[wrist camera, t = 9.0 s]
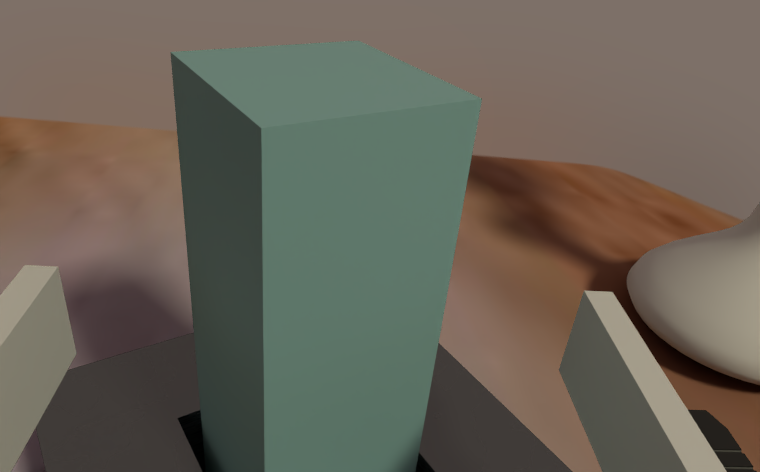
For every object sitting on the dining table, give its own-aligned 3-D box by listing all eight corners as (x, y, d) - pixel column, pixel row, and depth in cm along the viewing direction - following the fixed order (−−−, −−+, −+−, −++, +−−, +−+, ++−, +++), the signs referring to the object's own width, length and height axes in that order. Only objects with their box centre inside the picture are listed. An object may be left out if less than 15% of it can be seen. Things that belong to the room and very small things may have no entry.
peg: (207, 502, 22) (170, 51, 14) (330, 448, 25) (358, 40, 16) (266, 630, 18) (261, 128, 10) (401, 550, 21) (481, 98, 13)
